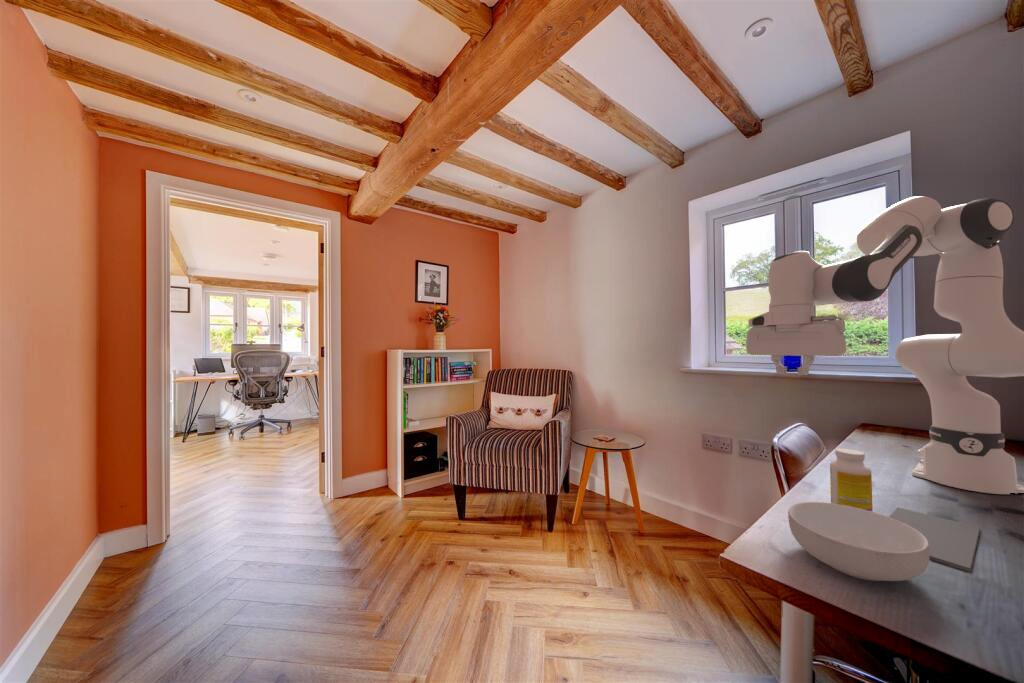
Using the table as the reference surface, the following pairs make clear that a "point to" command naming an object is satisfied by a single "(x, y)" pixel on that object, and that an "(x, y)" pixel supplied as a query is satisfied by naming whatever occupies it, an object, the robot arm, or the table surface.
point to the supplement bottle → (851, 480)
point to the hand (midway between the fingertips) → (792, 374)
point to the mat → (943, 537)
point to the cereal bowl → (859, 541)
